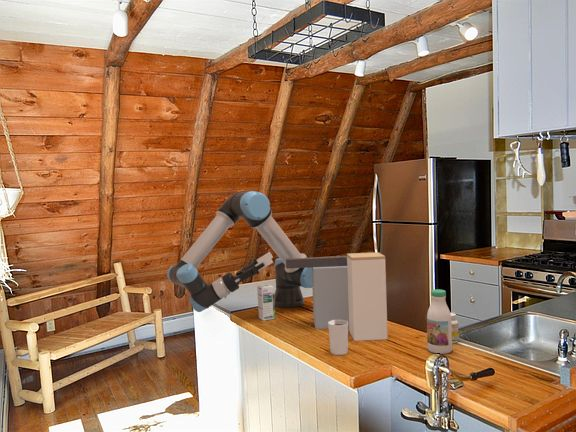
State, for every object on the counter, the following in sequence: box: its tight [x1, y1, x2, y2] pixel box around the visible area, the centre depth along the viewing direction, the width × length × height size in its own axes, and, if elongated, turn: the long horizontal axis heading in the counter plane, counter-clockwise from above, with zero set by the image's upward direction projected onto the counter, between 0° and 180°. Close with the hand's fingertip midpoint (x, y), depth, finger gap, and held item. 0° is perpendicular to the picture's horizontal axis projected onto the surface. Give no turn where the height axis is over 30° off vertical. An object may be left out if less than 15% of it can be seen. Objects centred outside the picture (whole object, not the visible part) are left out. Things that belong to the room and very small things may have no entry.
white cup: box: [328, 320, 349, 356], centre depth 151 cm, size 7×7×10 cm
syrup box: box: [256, 283, 276, 322], centre depth 195 cm, size 6×6×14 cm
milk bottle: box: [426, 288, 453, 355], centre depth 149 cm, size 8×8×20 cm
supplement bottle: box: [450, 312, 459, 344], centre depth 158 cm, size 5×5×10 cm
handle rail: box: [286, 255, 347, 269], centre depth 181 cm, size 4×26×4 cm, turn 92°
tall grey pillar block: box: [312, 266, 349, 330], centre depth 182 cm, size 9×14×24 cm, turn 92°
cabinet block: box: [346, 251, 389, 342], centre depth 167 cm, size 11×12×30 cm
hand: (271, 256), depth 180 cm, fingers open, 13 cm apart
